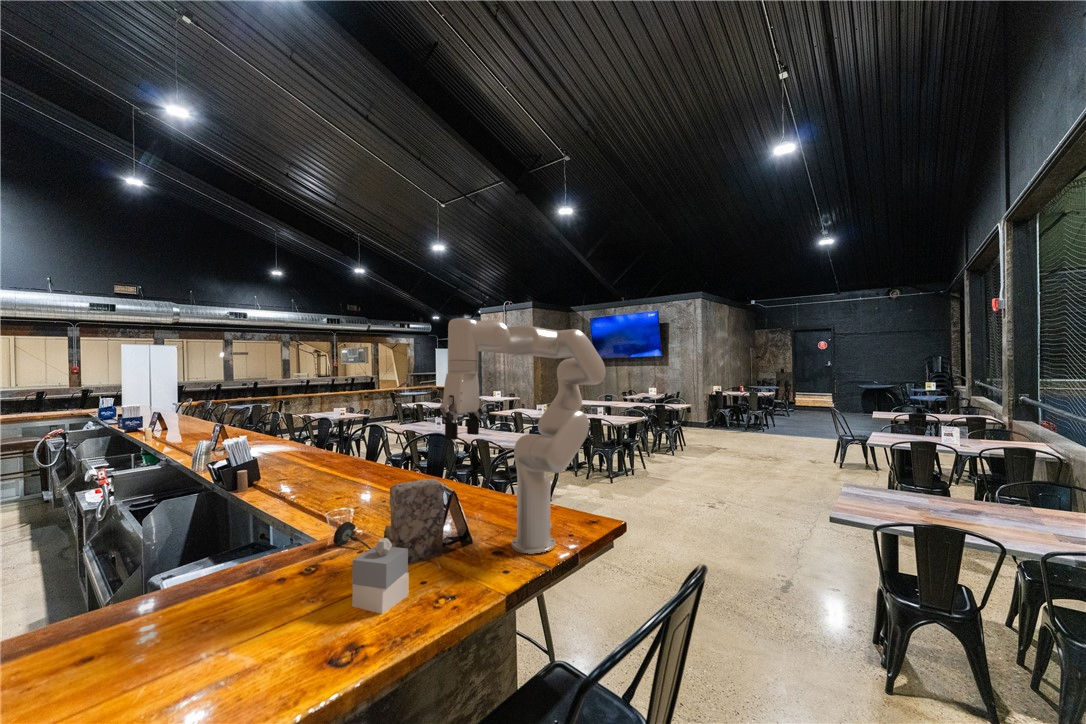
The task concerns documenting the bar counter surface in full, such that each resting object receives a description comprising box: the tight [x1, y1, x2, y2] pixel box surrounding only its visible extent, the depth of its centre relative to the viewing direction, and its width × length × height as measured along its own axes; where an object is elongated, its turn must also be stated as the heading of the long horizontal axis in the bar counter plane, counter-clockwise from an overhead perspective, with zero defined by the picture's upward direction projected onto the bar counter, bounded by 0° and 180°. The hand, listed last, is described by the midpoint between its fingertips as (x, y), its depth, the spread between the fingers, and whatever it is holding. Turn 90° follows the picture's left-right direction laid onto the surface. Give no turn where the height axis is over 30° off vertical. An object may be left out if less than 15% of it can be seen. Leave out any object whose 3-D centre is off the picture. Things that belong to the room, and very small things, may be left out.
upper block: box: [352, 546, 409, 589], centre depth 91 cm, size 8×8×5 cm
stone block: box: [389, 478, 445, 566], centre depth 113 cm, size 13×7×20 cm, turn 132°
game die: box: [374, 537, 392, 556], centre depth 92 cm, size 4×4×3 cm
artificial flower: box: [332, 521, 391, 550], centre depth 119 cm, size 9×22×10 cm, turn 66°
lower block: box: [351, 572, 410, 615], centre depth 91 cm, size 8×8×5 cm
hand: (462, 436), depth 105 cm, fingers open, 9 cm apart
